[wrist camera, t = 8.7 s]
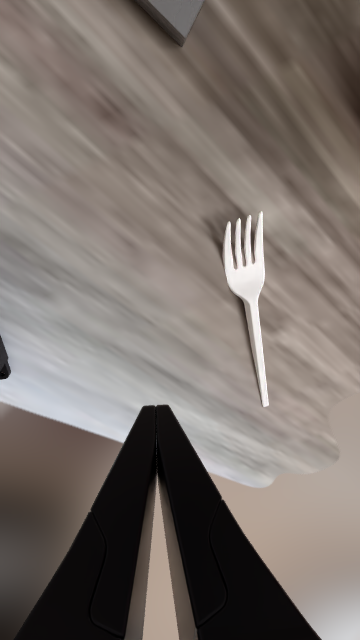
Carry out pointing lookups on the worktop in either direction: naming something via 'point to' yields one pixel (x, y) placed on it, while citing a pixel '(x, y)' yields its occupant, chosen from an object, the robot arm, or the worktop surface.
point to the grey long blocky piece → (173, 15)
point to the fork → (248, 287)
